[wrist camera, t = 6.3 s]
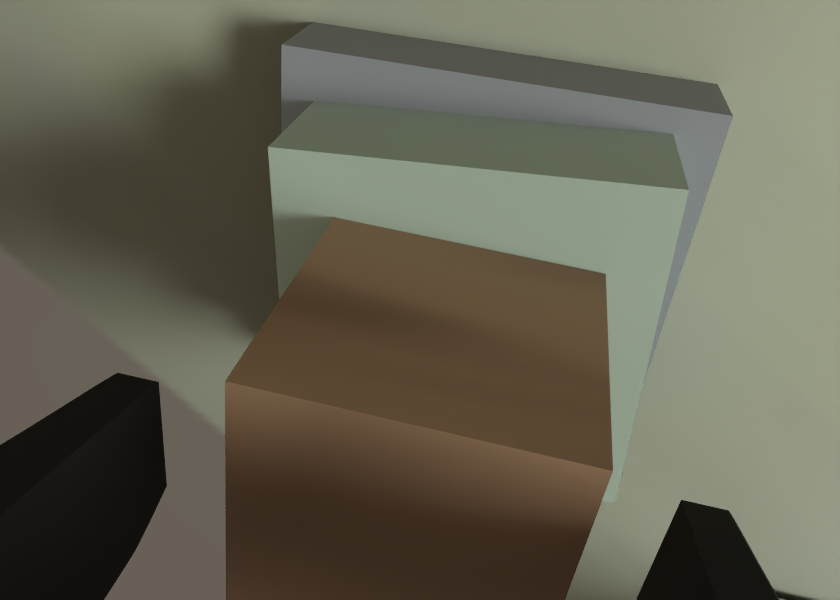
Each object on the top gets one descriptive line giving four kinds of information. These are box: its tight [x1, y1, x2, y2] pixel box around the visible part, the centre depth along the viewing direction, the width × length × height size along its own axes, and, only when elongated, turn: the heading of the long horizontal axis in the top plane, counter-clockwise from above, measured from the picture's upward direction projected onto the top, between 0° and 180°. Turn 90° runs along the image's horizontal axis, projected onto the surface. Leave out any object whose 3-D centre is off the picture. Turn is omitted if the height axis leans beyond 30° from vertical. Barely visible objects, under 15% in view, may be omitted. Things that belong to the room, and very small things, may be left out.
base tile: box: [281, 22, 733, 380], centre depth 17 cm, size 8×8×2 cm
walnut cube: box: [225, 217, 613, 600], centre depth 12 cm, size 4×4×4 cm
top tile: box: [268, 101, 689, 503], centre depth 15 cm, size 6×6×2 cm
